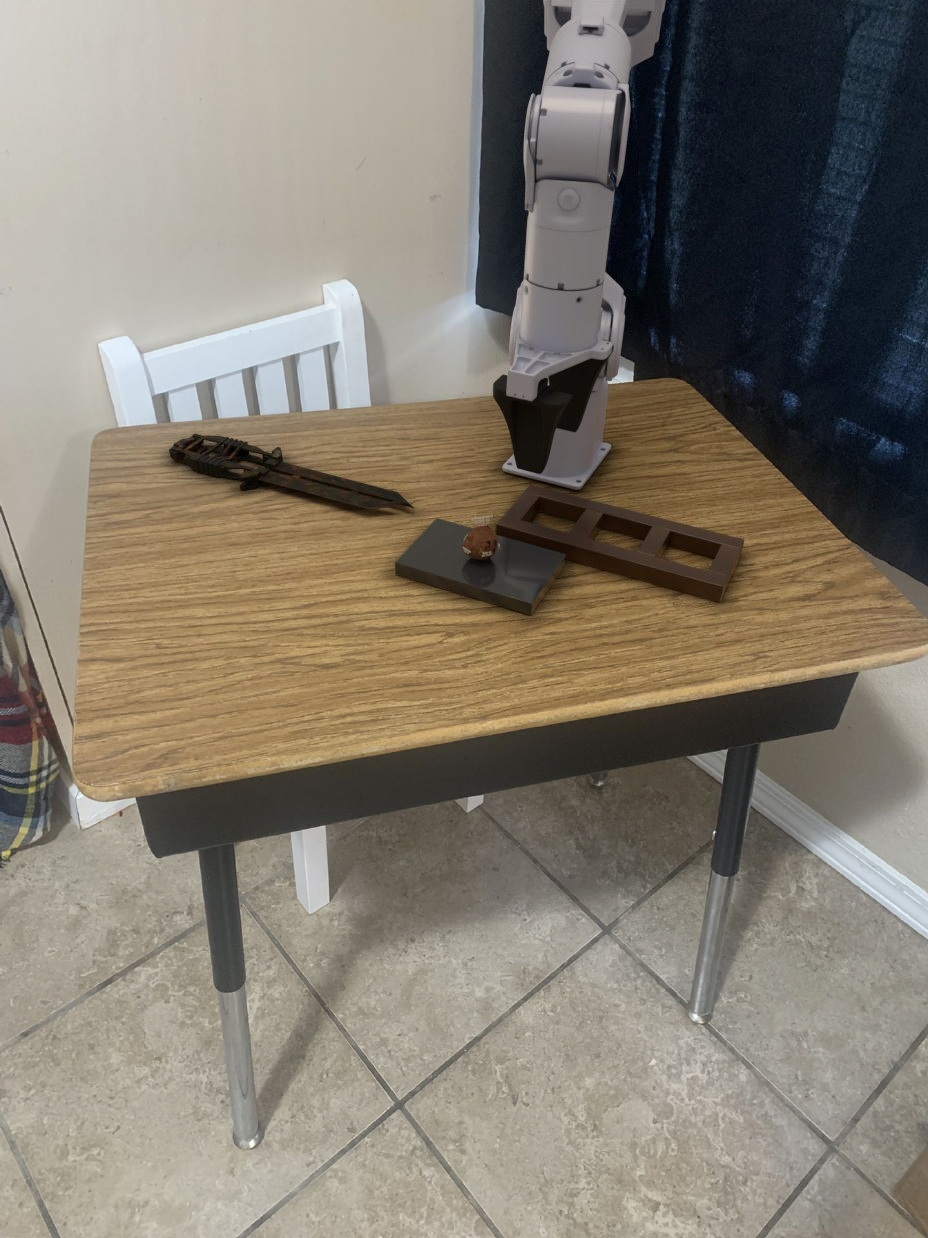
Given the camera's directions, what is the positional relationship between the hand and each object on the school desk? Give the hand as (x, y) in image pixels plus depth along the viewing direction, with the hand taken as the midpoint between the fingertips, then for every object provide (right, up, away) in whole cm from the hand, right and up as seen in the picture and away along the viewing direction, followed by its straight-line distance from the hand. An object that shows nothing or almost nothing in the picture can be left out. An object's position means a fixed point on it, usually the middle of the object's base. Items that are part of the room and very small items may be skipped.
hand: (548, 448), depth 78 cm
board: (-5, -10, +3) cm, 11 cm away
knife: (-23, -1, +13) cm, 26 cm away
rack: (+6, -7, +6) cm, 12 cm away
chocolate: (-5, -9, +2) cm, 11 cm away
